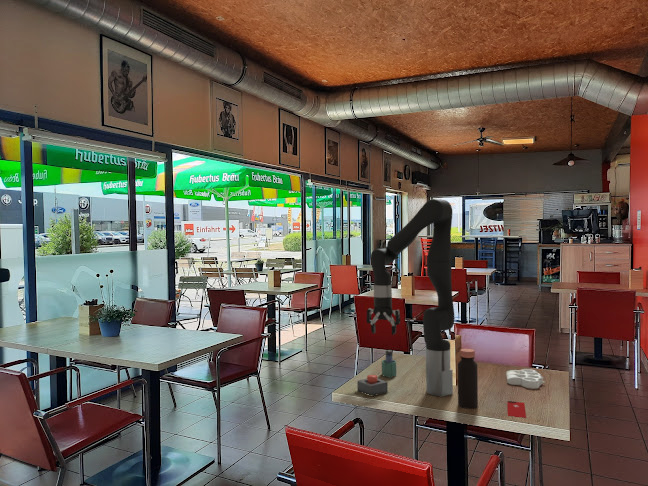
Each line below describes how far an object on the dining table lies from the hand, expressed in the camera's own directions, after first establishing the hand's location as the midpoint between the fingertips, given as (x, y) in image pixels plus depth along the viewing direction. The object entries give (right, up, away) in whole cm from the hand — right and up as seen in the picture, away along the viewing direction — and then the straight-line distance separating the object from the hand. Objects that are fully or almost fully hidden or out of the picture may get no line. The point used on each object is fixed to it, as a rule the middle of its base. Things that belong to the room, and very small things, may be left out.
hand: (383, 333), depth 202 cm
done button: (-6, -17, -14) cm, 23 cm away
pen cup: (+4, -20, +8) cm, 22 cm away
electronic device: (+42, -20, -35) cm, 58 cm away
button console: (-6, -20, -14) cm, 25 cm away
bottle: (+26, -20, -31) cm, 45 cm away
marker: (+4, -19, +8) cm, 21 cm away
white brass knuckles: (+59, -20, -4) cm, 62 cm away
